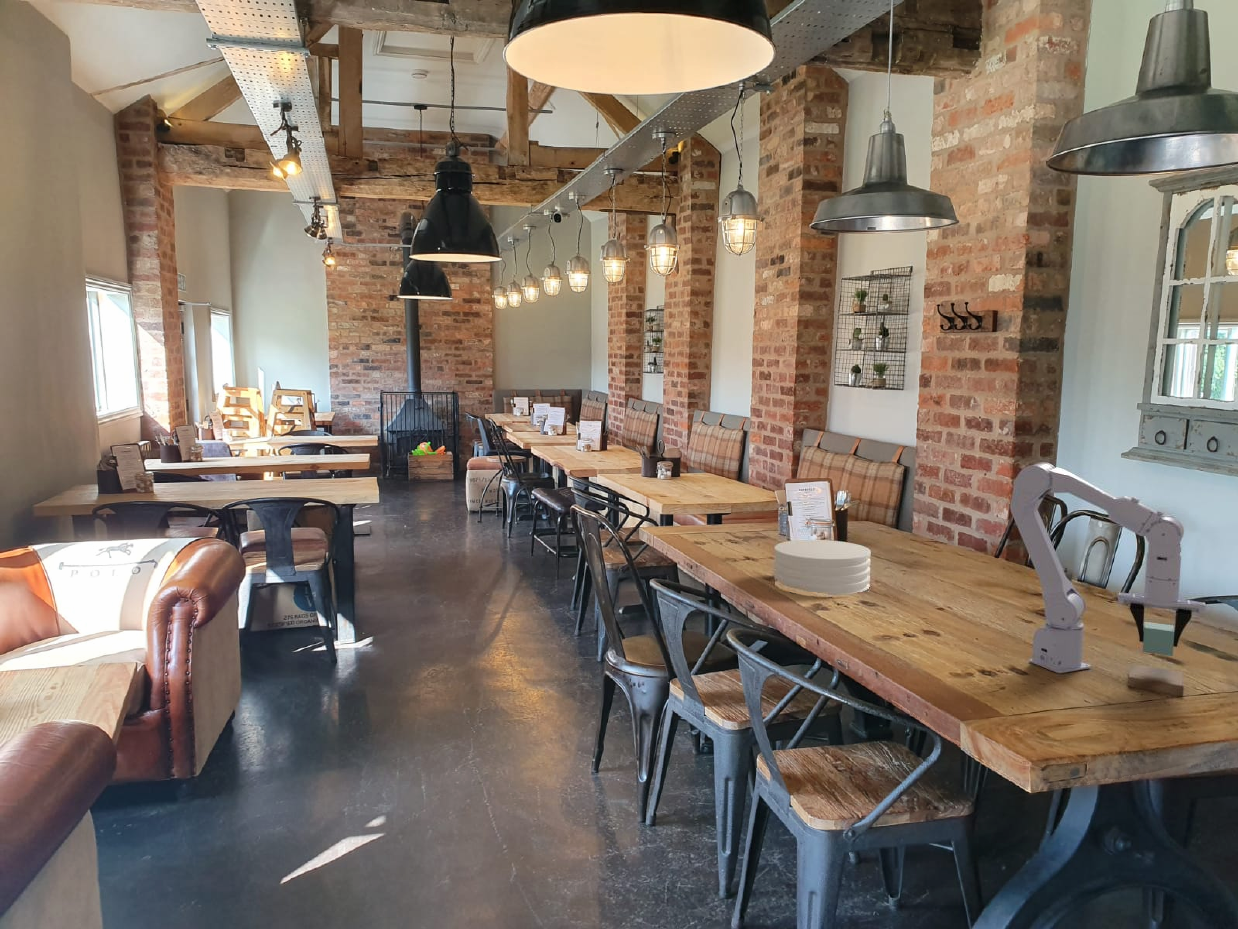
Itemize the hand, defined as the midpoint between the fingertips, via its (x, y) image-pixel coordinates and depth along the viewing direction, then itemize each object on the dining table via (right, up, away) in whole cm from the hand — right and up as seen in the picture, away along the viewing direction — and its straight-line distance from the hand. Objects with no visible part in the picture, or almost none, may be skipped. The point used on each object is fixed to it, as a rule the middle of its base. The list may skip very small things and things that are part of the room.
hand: (1158, 643), depth 164 cm
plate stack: (-48, -1, +80) cm, 94 cm away
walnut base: (0, -8, 0) cm, 8 cm away
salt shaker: (+9, -3, +52) cm, 53 cm away
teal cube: (0, -2, +1) cm, 2 cm away
